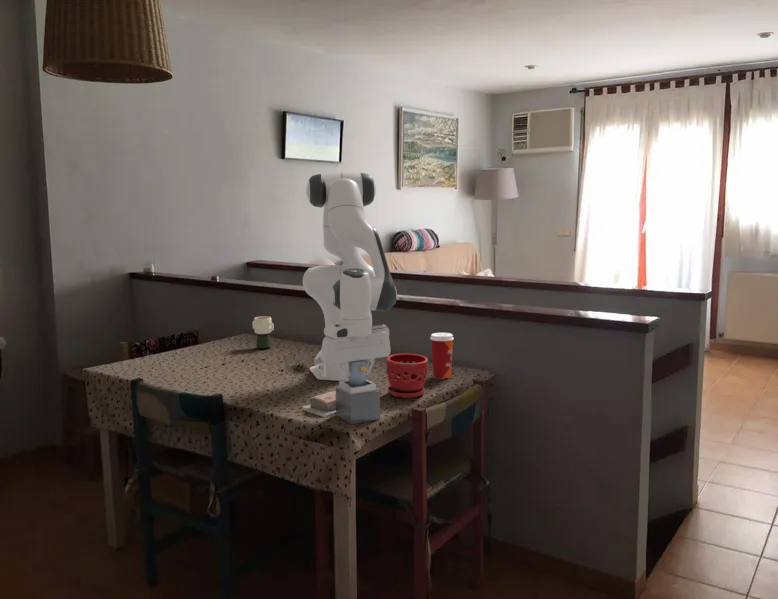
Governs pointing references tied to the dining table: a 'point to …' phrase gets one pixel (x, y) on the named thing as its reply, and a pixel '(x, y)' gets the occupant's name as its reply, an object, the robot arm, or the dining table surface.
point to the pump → (357, 373)
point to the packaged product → (322, 404)
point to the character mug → (263, 331)
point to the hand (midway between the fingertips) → (357, 375)
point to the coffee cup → (441, 354)
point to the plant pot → (406, 375)
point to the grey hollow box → (358, 402)
